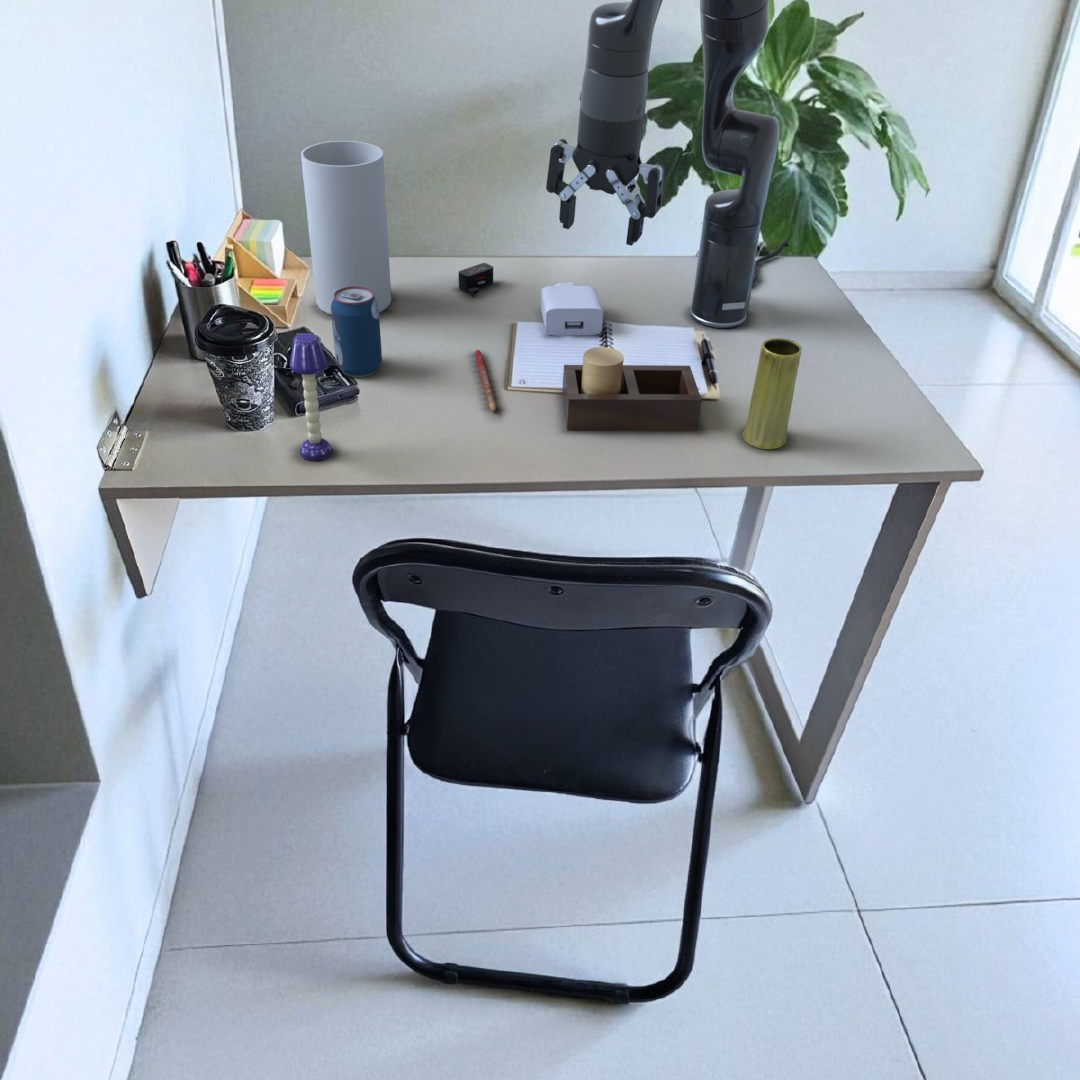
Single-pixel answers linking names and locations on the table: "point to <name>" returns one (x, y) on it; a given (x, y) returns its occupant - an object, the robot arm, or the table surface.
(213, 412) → the table surface
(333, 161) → the cylinder vase
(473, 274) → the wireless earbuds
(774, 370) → the vase
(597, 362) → the peg
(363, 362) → the soda can
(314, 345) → the toy lamp
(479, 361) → the pencil
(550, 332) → the charger
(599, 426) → the rack
